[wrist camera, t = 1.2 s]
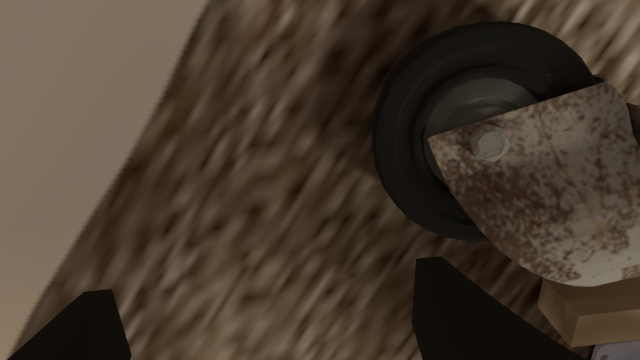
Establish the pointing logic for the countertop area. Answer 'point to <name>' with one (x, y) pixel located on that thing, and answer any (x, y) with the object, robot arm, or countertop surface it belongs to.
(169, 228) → the countertop surface
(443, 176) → the caster wheel
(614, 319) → the frame
